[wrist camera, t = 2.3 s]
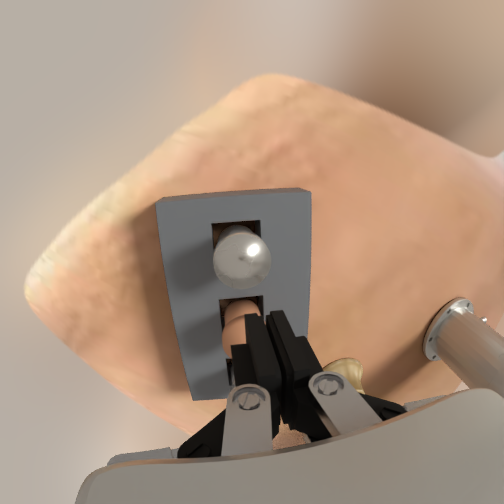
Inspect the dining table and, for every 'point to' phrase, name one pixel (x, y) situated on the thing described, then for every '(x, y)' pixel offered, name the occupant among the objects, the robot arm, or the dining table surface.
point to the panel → (212, 289)
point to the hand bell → (348, 371)
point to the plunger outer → (241, 258)
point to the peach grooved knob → (236, 323)
